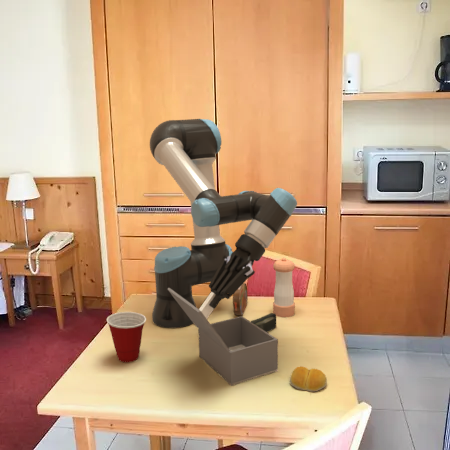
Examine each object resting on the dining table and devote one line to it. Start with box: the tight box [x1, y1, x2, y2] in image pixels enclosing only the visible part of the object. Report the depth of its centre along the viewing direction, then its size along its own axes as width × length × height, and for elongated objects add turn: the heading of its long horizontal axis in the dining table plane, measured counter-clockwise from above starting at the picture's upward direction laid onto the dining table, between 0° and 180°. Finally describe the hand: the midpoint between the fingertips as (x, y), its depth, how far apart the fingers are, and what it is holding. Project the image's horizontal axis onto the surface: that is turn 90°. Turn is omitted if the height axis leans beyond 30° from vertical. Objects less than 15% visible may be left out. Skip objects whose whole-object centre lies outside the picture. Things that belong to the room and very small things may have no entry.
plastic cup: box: [106, 311, 147, 363], centre depth 143 cm, size 11×11×12 cm
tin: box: [232, 282, 249, 316], centre depth 175 cm, size 15×3×8 cm, turn 168°
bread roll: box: [288, 365, 328, 392], centre depth 129 cm, size 8×9×4 cm
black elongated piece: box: [250, 312, 277, 333], centre depth 157 cm, size 5×3×15 cm
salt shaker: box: [272, 257, 296, 318], centre depth 171 cm, size 7×7×19 cm
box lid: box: [168, 288, 230, 352], centre depth 131 cm, size 19×14×1 cm
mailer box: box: [198, 315, 279, 387], centre depth 139 cm, size 18×14×9 cm
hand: (201, 316), depth 130 cm, fingers closed
